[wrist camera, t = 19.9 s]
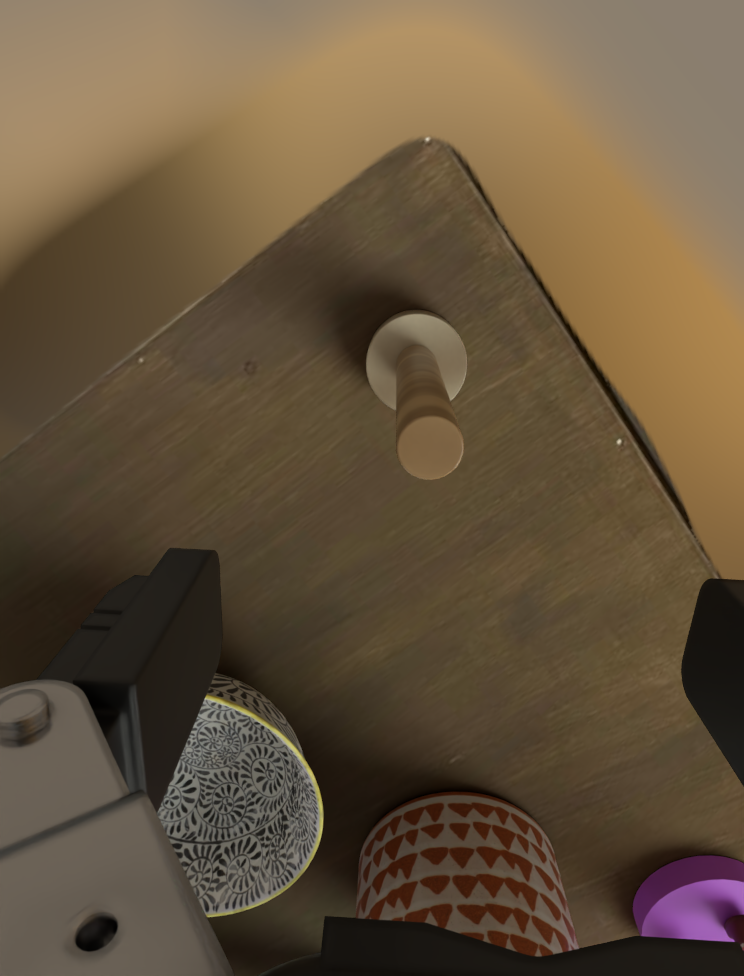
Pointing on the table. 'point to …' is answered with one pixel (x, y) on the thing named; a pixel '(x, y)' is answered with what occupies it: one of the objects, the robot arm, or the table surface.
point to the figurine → (693, 900)
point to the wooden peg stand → (420, 388)
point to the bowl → (241, 802)
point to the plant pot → (467, 873)
